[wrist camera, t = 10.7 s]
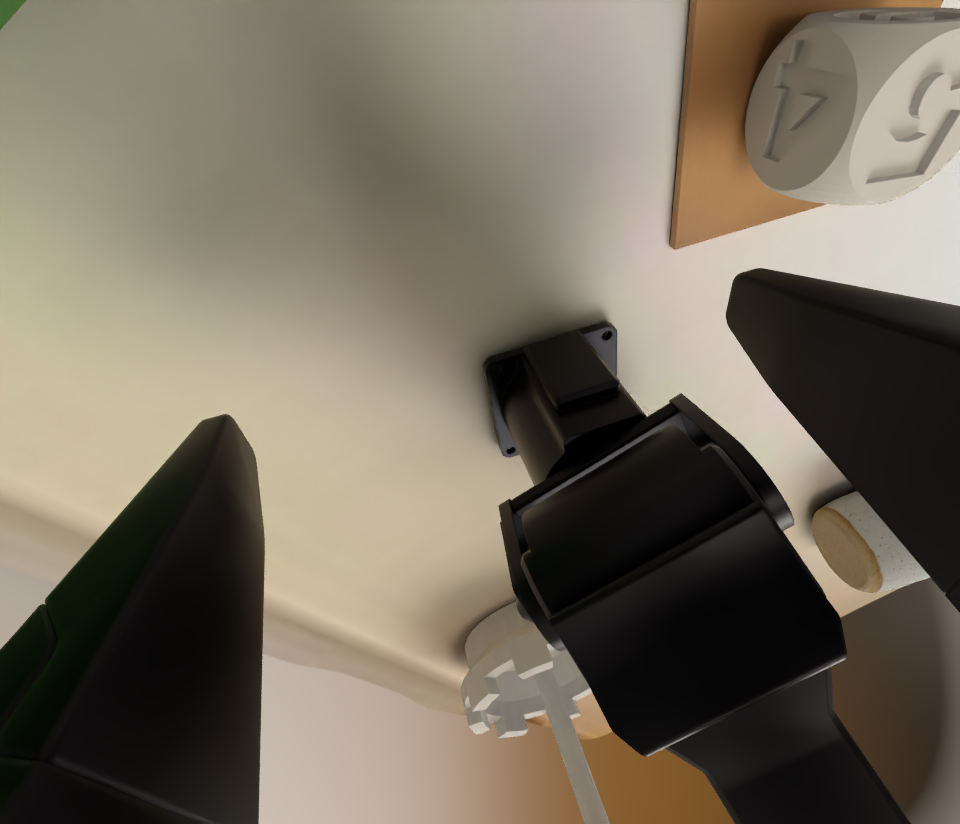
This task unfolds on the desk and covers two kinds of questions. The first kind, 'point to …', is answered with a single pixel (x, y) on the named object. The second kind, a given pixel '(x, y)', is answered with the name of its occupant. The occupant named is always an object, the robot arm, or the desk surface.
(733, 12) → the coaster
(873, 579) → the ceramic mug
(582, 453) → the robot arm
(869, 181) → the die
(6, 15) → the hardback book
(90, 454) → the desk surface
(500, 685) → the flag stand
